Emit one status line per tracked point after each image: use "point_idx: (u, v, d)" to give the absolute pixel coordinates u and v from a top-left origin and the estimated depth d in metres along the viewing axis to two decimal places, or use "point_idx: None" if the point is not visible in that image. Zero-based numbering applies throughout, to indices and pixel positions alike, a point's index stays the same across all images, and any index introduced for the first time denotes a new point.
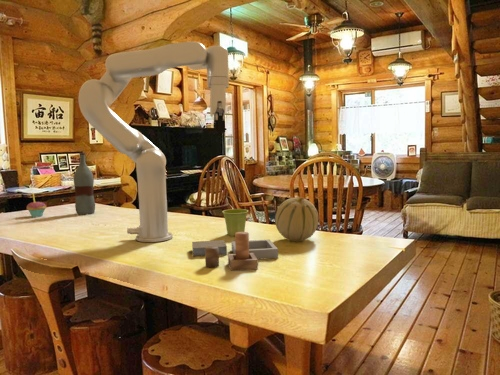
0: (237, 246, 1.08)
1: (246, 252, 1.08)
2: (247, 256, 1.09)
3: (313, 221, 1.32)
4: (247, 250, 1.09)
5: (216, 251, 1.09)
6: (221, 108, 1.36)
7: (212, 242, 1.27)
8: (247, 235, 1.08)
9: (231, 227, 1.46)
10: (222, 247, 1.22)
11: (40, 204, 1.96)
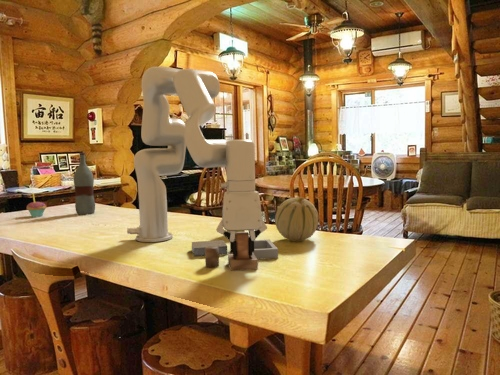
0: (237, 246, 1.08)
1: (246, 252, 1.08)
2: (247, 256, 1.09)
3: (313, 221, 1.32)
4: (247, 250, 1.09)
5: (216, 251, 1.09)
6: None
7: (212, 242, 1.27)
8: (247, 235, 1.08)
9: None
10: (223, 247, 1.22)
11: (40, 204, 1.96)
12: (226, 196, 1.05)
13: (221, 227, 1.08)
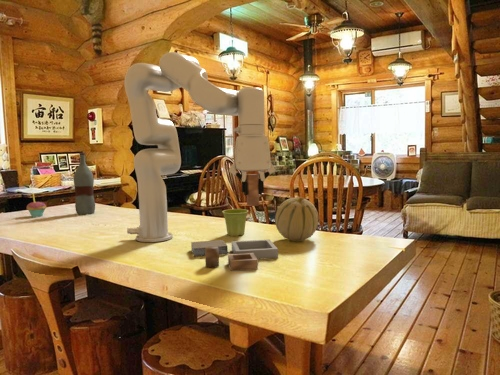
0: (248, 186, 1.19)
1: (256, 191, 1.19)
2: (257, 195, 1.19)
3: (313, 221, 1.32)
4: (257, 190, 1.19)
5: (216, 251, 1.09)
6: None
7: (212, 242, 1.27)
8: (257, 176, 1.19)
9: (231, 227, 1.46)
10: (223, 247, 1.22)
11: (40, 204, 1.96)
12: (238, 139, 1.16)
13: (233, 168, 1.18)
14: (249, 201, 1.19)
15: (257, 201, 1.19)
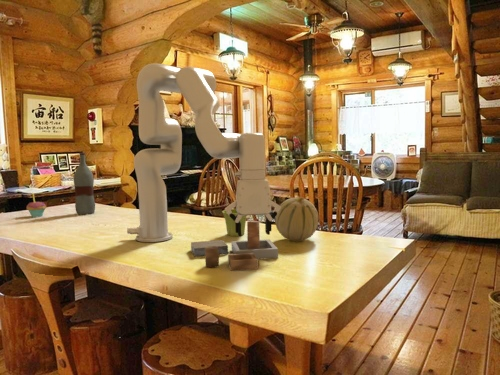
0: (249, 233, 1.21)
1: (257, 238, 1.21)
2: (258, 242, 1.21)
3: (313, 221, 1.32)
4: (258, 237, 1.21)
5: (216, 251, 1.09)
6: None
7: (211, 242, 1.27)
8: (258, 223, 1.21)
9: (231, 227, 1.46)
10: (223, 246, 1.22)
11: (40, 204, 1.96)
12: (239, 184, 1.17)
13: (230, 208, 1.19)
14: (250, 248, 1.21)
15: (258, 248, 1.21)
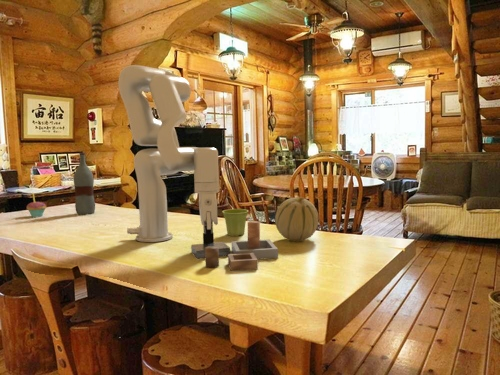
0: (250, 233, 1.20)
1: (258, 239, 1.21)
2: (258, 243, 1.21)
3: (313, 221, 1.32)
4: (258, 237, 1.21)
5: (216, 251, 1.09)
6: None
7: (212, 244, 1.25)
8: (259, 224, 1.21)
9: (231, 227, 1.46)
10: (226, 249, 1.20)
11: (40, 204, 1.96)
12: (214, 195, 1.23)
13: (210, 224, 1.24)
14: None
15: (258, 248, 1.21)
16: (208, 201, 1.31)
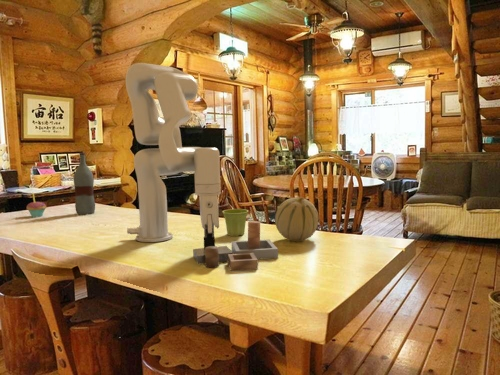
0: (250, 234, 1.20)
1: (258, 239, 1.21)
2: (259, 243, 1.21)
3: (313, 221, 1.32)
4: (259, 237, 1.21)
5: (216, 251, 1.09)
6: None
7: None
8: (259, 224, 1.21)
9: (231, 227, 1.46)
10: (228, 253, 1.15)
11: (40, 204, 1.96)
12: (216, 198, 1.18)
13: (211, 228, 1.19)
14: None
15: (258, 248, 1.21)
16: None
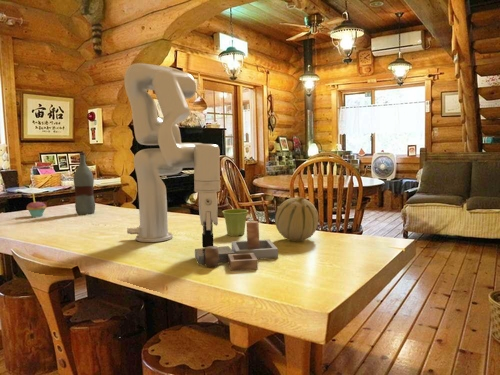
0: (249, 234, 1.20)
1: (257, 239, 1.21)
2: (258, 242, 1.21)
3: (313, 222, 1.32)
4: (258, 237, 1.21)
5: (216, 251, 1.09)
6: None
7: None
8: (258, 224, 1.21)
9: (231, 227, 1.46)
10: None
11: (40, 204, 1.96)
12: (215, 195, 1.17)
13: None
14: None
15: (258, 248, 1.21)
16: None
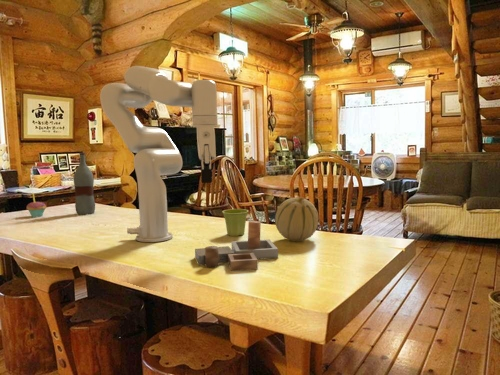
0: (251, 233, 1.20)
1: (258, 239, 1.21)
2: (259, 243, 1.21)
3: (313, 222, 1.32)
4: (259, 237, 1.21)
5: (216, 251, 1.09)
6: None
7: None
8: (260, 224, 1.21)
9: (231, 227, 1.46)
10: None
11: (40, 204, 1.96)
12: (213, 128, 1.21)
13: (208, 158, 1.21)
14: None
15: (259, 248, 1.21)
16: None
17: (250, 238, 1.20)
